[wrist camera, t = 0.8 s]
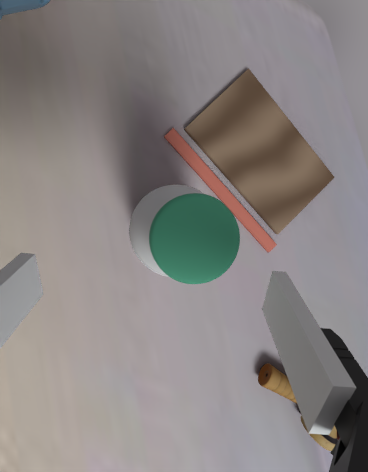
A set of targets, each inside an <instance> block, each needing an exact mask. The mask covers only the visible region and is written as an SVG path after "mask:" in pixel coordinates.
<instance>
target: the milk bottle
mask: <svg viewBox="0 0 368 472" xmlns="http://www.w3.org/2000/svg"><path fill="white" fill-rule="evenodd" d="M129 235H130V241H131V245H132V248H133V250H134V252H135V254H136V255H137V257H138V258H139V260H140V261H141V262H142V263H143V264H144V265H145V266H146V267H147V268H149V269H150V270H152V271H153V272H155V273H157V274H160V275H163V276H167V277H171V278H172V279H174V280H176V281H179V282H182V283H187V284H201V283H206V282H209V281H212V280H214V279H216V278H218V277H219V276H221V275H222V274H223V273H224V272H226V271H227V269H228V268H229V267H230V266H231V265H232V263H233V261H234V259H235V257H236V255H237V252H238V249H239V242H240V234H239V228H238V224H237V222H236V219H235V217H234V215H233V214H232V212H231V211H230V210H229V209H228V207H227V206H226V205H225V204H223V203H222V202H221V201H219V200H218V199H216V198H214V197H212V196H209V195H206V194H203V193H202V192H201V191H199V190H197V189H195V188H192V187H189V186H185V185H167V186H162V187H159V188H157V189H155V190H153V191H151V192H150V193H148V194H147V195H146V196H144V197H143V198H142V199H141V201H140V202H139V203H138V204H137V206H136V208H135V210H134V211H133V214H132V217H131V220H130V227H129Z"/></svg>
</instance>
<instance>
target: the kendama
mask: <svg viewBox="0 0 368 472" xmlns="http://www.w3.org/2000/svg"><path fill="white" fill-rule="evenodd" d="M258 382H259V384H260V385H261V386H263V387H265V388H267V389H269V390H272V391H273V392H275V393H278V394H279V395H281V396H284V397H285V398H287V399H289V400H291V401H293V402H295V403H297V401H296V398H295V396H294V393H293V390H292V388H291V385H290V382H289V380H288V377H287V376H286V375H284V374H283V373H282V372H280V371H279V370H277V369H276V368H275V367H273V366H272V365H271V364H269V363H267V364H265V365H263V367H262V368H261V370H260V372H259V376H258ZM301 422H302V424H303V426H304V428H305V429H306V431H307V432H308V430H307V428H306V425H305V422H304V420H303V417H302V416H301ZM310 436H311V437H312V438H313V439H314V440H315V441H316V442H317V443H318V444H319V445H321V446H322V447H323V448H325V449H326V450H329V451H332V450H333V448H334V446H335V445H336V443H337V441H338V440H339V438H340V436H339V434H338V432H337V430H336V427H335V425H334V427H333V429H332V431H331V432H330V434H329V435H323V434H310Z"/></svg>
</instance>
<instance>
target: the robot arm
mask: <svg viewBox="0 0 368 472" xmlns="http://www.w3.org/2000/svg"><path fill="white" fill-rule="evenodd" d="M49 2H50V0H0V20H1V19H2V16H3V15H7V14H12V13H17V12H22V11H27V10H32V9H37V8H41V7H43V6H45V5H46V4H47V3H49ZM42 295H43V290H42V285H41V280H40V275H39V271H38V266H37V261H36V256H35V254H28V253H20V254H19V255H18V256H17V257H16V258H14V259H13V260H12V261H11V262H10V263H9V264H7V265H6V266H5V267H4V268H3V269H1V270H0V348H1V347H2V346H3V344H4V343H5V342H6V341H7V339H8V338H9V337H10V336H11V334H12V333H13V332H14V331H15V329H16V328H17V327H18V326H19V324H20V323H21V322H22V320H23V319H24V318H25V317H26V315H27V314H28V313H29V312H30V310H31V309H32V308H33V307H34V305H35V304H36V303H37V302H38V300H39V299H40V298H41V297H42ZM262 310H263V313H264V316H265V318H266V321H267V324H268V326H269V329H270V332H271V334H272V337H273V340H274V342H275V345H276V348H277V350H278V353H279V356H280V358H281V361H282V364H283V366H284V369H285V372H286V374H287V377H288V380H289V382H290V385H291V388H292V390H293V393H294V396H295V398H296V401H297V404H298V406H299V409H300V412H301V414H302V417H303V420H304V422H305V425H306V428H307V430H308V433H309V434H323V435H329V434H330V432H331V431H332V429H333V427H334V425H335V427H336V430H337V432H338V434H339V436H340V438H339V440H338V441H337V443H336V445H335V446H334V448H333V450H332V451H331V454H332V455H333V459H332V463H331V466H330V470H329V472H368V378H367V376H366V375H365V373H364V372H363V370H362V369H361V367H360V366H359V364H358V363H357V361H356V360H354V357H353V355H352V354H351V352H350V351H348V348H347V346H346V345H345V343H344V342H343V340H342V339H341V338H340V337H339V336H338V335H337V334H336V333H334V332H333V331H332V330H331V329H323V328H320V327H319V325H318V324H317V322H316V320H315V319H314V317H313V315H312V314H311V312H310V311H309V309H308V307H307V306H306V304H305V302H304V301H303V299H302V297H301V296H300V294H299V293H298V291H297V289H296V288H295V286H294V284H293V283H292V281H291V279H290V278H289V276H288V275H287V273H286V272H278V271H272V275H271V278H270V282H269V286H268V289H267V293H266V297H265V300H264V304H263V308H262Z"/></svg>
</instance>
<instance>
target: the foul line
mask: <svg viewBox="0 0 368 472" xmlns="http://www.w3.org/2000/svg"><path fill="white" fill-rule="evenodd" d="M164 138H165V139H166V140H167V141H168V142H169V143H170V144H171V145H172V146H173V148H174V149H175V150H176V151H177V152H178V153H179V154H180V155H181V156H182V158H183V159H184V160H185V161H186V162H187V163H188V164H189V165H190V166H191V168H192V169H193V170H194V171H195V172H196V173H197V174H198V175H199V176H200V178H201V179H202V180H203V181H204V182H205V183H206V184H207V185H208V187H209V188H210V189H211V190H212V191H213V192H214V193H215V194H216V195H217V197H218V198H219V199H220V200H221V201H222V202H223V203H224V204H225V205H226V206H227V207H228V209H229V210H230V211H231V212H232V213H233V214H234V215H235V217H236V218H237V219H238V220H239V221H240V222H241V223H242V224H243V225H244V227H245V228H246V229H247V230H248V231H249V232H250V233H251V234H252V236H253V237H254V238H255V239H256V240H257V241H258V242H259V243H260V244H261V246H262V247H263V248H264V249H265V250H266V251H267V252H270V251H271V250H272V249H273V248H274V247H275V246H276V245H277V244H276V243H275V242H274V241H273V240H272V239H271V238H270V237H269V235H268V234H267V233H266V232H265V231H264V230H263V229H262V227H261V226H260V225H259V224H258V223H257V222H256V221H255V220H254V218H253V217H252V216H251V215H250V214H249V213H248V212H247V211H246V209H245V208H244V207H243V206H242V205H241V204H240V203H239V201H238V200H237V199H236V198H235V197H234V196H233V195H232V194H231V192H230V191H229V190H228V189H227V188H226V187H225V186H224V185H223V183H222V182H221V181H220V180H219V179H218V178H217V177H216V175H215V174H214V173H213V172H212V171H211V170H210V169H209V168H208V166H207V165H206V164H205V163H204V162H203V161H202V160H201V159H200V157H199V156H198V155H197V154H196V153H195V152H194V151H193V149H192V148H191V147H190V146H189V145H188V144H187V143H186V142H185V140H184V139H183V138H182V137H181V136H180V135H179V134H178V133H177V131H176V130H175V129H174V128H173V129H171V130H170V131H169V132H168V133H167V134H166V135H165V136H164Z"/></svg>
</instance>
